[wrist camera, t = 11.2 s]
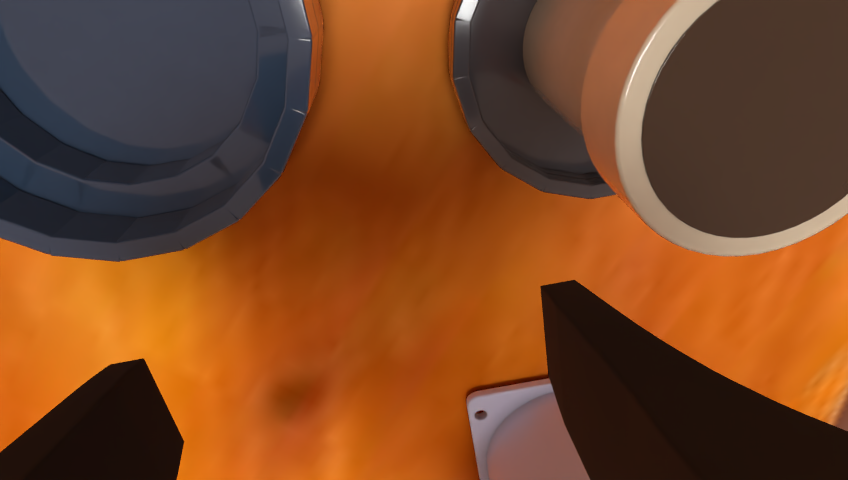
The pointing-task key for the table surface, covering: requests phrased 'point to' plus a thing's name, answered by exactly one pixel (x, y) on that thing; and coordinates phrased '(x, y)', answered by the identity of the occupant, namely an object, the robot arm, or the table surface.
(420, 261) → the table surface
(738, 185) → the clay pot
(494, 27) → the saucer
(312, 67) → the planter
